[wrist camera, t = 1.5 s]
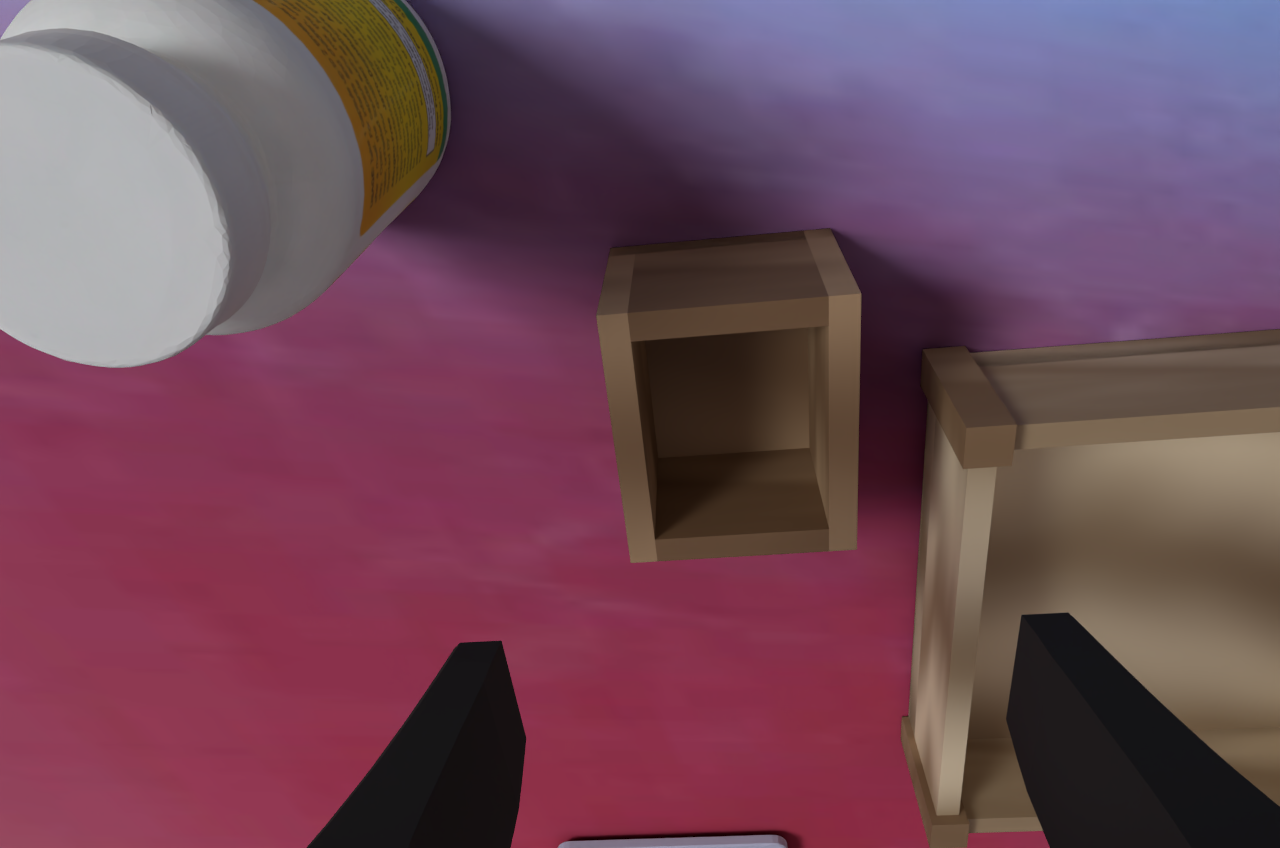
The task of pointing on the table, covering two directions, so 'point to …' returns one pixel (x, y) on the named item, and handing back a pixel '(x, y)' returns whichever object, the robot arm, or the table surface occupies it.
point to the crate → (1095, 550)
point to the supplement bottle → (201, 163)
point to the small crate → (734, 394)
